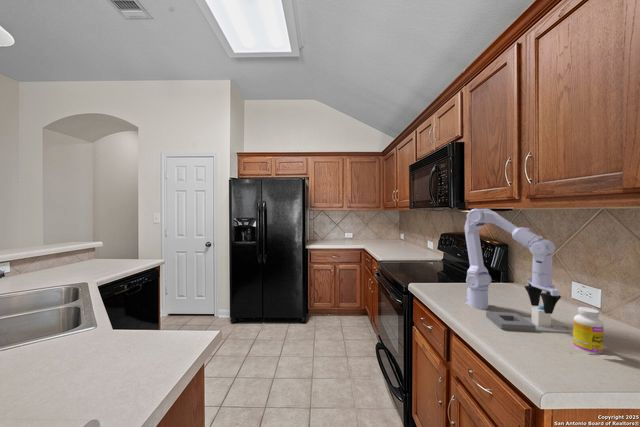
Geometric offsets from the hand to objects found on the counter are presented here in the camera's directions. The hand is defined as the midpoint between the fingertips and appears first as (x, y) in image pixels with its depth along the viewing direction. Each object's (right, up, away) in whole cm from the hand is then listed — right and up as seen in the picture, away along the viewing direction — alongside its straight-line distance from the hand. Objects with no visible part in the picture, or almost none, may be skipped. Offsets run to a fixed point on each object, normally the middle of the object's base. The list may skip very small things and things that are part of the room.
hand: (541, 309), depth 102 cm
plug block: (0, -7, 0) cm, 7 cm away
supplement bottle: (+1, -7, -16) cm, 18 cm away
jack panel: (-5, -7, +1) cm, 9 cm away
